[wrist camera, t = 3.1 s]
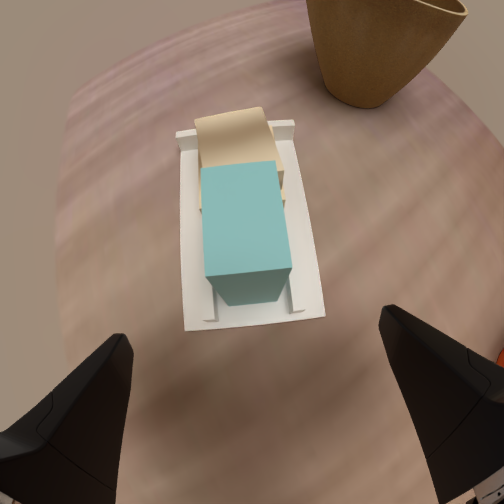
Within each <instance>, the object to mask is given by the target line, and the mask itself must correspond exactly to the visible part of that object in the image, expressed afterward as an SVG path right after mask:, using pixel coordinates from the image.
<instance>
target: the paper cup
mask: <svg viewBox="0 0 504 504" xmlns="http://www.w3.org/2000/svg"><path fill="white" fill-rule="evenodd" d="M496 364H498V365H500V366H502V367H504V349H503V350H502V351H501V353H500V355H499V357H498V360H497V363H496Z"/></svg>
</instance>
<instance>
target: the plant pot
mask: <svg viewBox="0 0 504 504" xmlns="http://www.w3.org/2000/svg"><path fill="white" fill-rule="evenodd" d="M306 3H307V9H308V15H309V21H310V26H311V32H312V36H313V41H314V46H315V50H316V54H317V58H318V62H319V66H320V70H321V73H322V76H323V80H324V83H325V86H326V88H327V89H328V90H329V92H330V93H331V94H332V95H334V96H335V97H336V98H337V99H339V100H341V101H343V102H345V103H347V104H349V105H352V106H356V107H361V108H374V107H377V106H380V105H381V104H383V103H384V102H385V101H387V100H388V99H389V98H391V97H392V96H393V95H394V94H396V93H397V92H398V91H399V90H401V89H402V88H403V87H404V86H405V85H407V84H408V83H409V82H410V81H411V80H412V79H413V78H414V77H415V76H416V75H417V74H418V73H419V72H420V71H421V70H422V69H423V68H424V67H425V66H426V65H427V64H428V63H429V62H430V61H431V60H432V59H433V58H434V57H435V56H436V55H437V53H438V52H439V51H440V50H441V49H442V48H443V46H444V45H445V44H446V43H447V41H448V40H449V39H450V37H451V36H452V35H453V34H454V32H455V31H456V30H457V28H458V27H459V26H460V24H461V23H462V22H463V20H464V19H465V17H466V16H467V15H468V10H467V9H466V7H465V6H464V5H463V4H462V3H461V2H460V1H459V0H306Z"/></svg>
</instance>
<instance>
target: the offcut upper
mask: <svg viewBox="0 0 504 504" xmlns="http://www.w3.org/2000/svg"><path fill="white" fill-rule="evenodd" d="M195 126H196V133H197V139H198V145H199V151H200V156H201V162H202V168H206V167H214V166H222V165H231V164H240V163H250V162H261V161H273V160H275V161H276V167H277V173H278V178H279V184H280V190H282V185H283V178H284V167H283V164H282V161H281V158H280V156H279V153H278V150H277V147H276V144H275V142H274V139H273V136H272V133H271V131H270V128H269V125H268V122H267V120H266V117H265V114H264V112H263V109H262V107H255V108H249V109H243V110H238V111H232V112H227V113H222V114H217V115H212V116H208V117H203V118H199V119H195Z"/></svg>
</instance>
